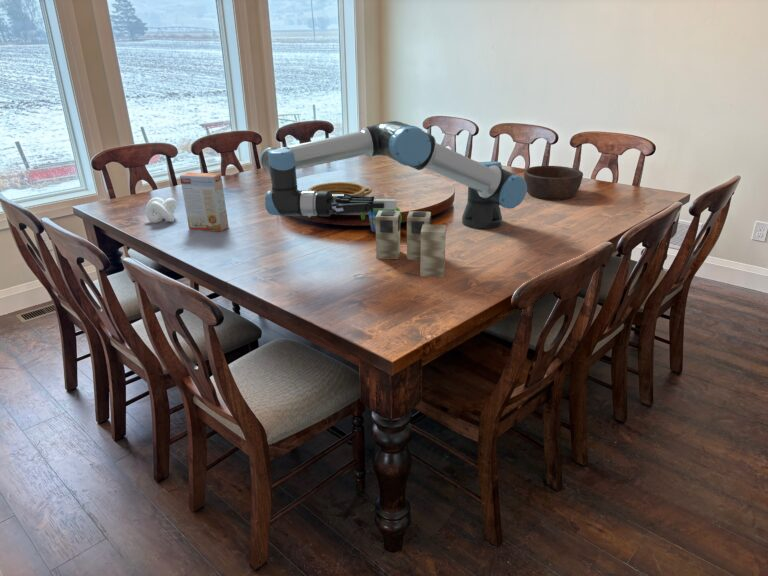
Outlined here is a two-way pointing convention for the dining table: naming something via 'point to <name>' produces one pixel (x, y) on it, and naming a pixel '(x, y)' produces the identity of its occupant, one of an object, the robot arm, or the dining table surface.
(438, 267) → the plain block
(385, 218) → the marked block 2
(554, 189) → the wooden bowl
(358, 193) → the collapsible colander
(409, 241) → the marked block 1
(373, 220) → the snack cup
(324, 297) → the dining table surface
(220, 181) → the cracker box
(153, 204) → the white knot sculpture
